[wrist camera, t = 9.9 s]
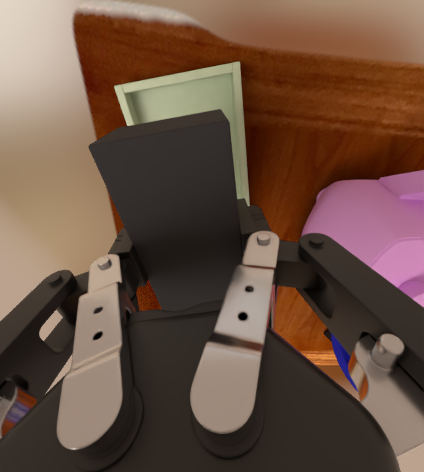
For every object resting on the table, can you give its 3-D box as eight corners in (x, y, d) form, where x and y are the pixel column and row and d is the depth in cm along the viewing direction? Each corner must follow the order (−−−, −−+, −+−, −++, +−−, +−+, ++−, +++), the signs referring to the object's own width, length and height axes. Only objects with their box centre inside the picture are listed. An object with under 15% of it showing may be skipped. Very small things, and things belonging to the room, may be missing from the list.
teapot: (354, 279, 34) (422, 367, 24) (274, 276, 33) (308, 367, 22) (442, 137, 23) (648, 186, 12) (325, 126, 22) (440, 169, 11)
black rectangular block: (117, 127, 11) (86, 145, 8) (221, 108, 10) (229, 119, 8) (175, 285, 17) (169, 327, 14) (241, 276, 17) (249, 317, 14)
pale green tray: (168, 228, 27) (165, 240, 26) (122, 85, 19) (113, 85, 17) (247, 216, 27) (251, 226, 25) (235, 63, 19) (240, 61, 17)
